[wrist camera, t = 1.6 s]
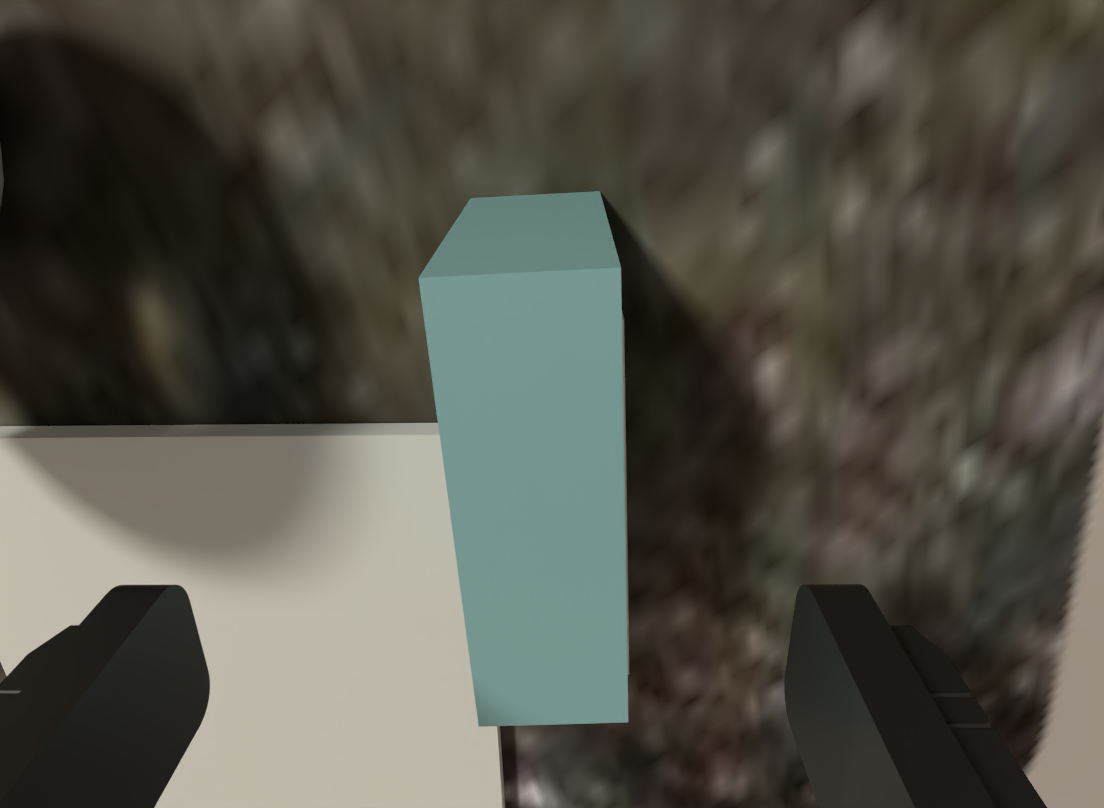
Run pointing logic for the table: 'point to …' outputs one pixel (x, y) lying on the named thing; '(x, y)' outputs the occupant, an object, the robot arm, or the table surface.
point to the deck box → (535, 452)
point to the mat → (268, 598)
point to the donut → (1, 178)
